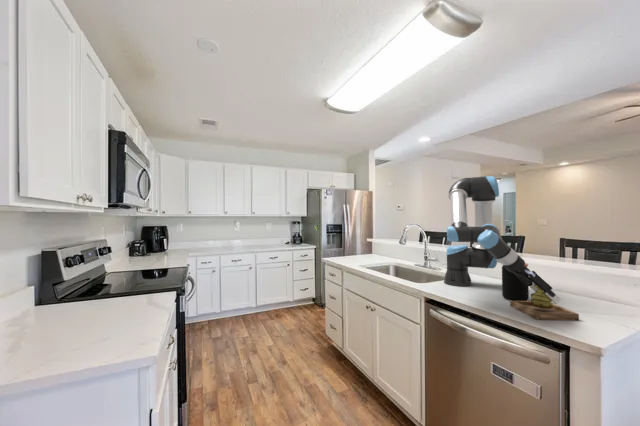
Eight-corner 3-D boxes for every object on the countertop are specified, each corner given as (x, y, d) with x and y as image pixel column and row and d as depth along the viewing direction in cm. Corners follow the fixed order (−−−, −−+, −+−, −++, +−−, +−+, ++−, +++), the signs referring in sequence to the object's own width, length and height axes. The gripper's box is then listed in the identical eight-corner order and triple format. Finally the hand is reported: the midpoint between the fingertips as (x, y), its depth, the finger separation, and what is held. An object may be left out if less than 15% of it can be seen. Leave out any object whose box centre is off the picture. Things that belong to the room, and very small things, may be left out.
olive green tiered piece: (530, 302, 119) (530, 280, 119) (553, 305, 114) (552, 282, 114) (530, 306, 113) (530, 283, 113) (553, 310, 108) (553, 286, 109)
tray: (510, 306, 122) (510, 300, 122) (547, 306, 121) (547, 301, 121) (536, 319, 106) (536, 313, 106) (578, 320, 105) (578, 314, 105)
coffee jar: (519, 295, 137) (519, 261, 138) (534, 302, 127) (533, 264, 127) (497, 295, 138) (497, 261, 139) (510, 302, 128) (509, 264, 128)
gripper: (490, 262, 125) (527, 297, 123) (519, 270, 105) (563, 312, 104) (502, 250, 125) (539, 285, 123) (533, 257, 105) (578, 299, 103)
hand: (550, 298), depth 113 cm, fingers closed on olive green tiered piece, 7 cm apart
